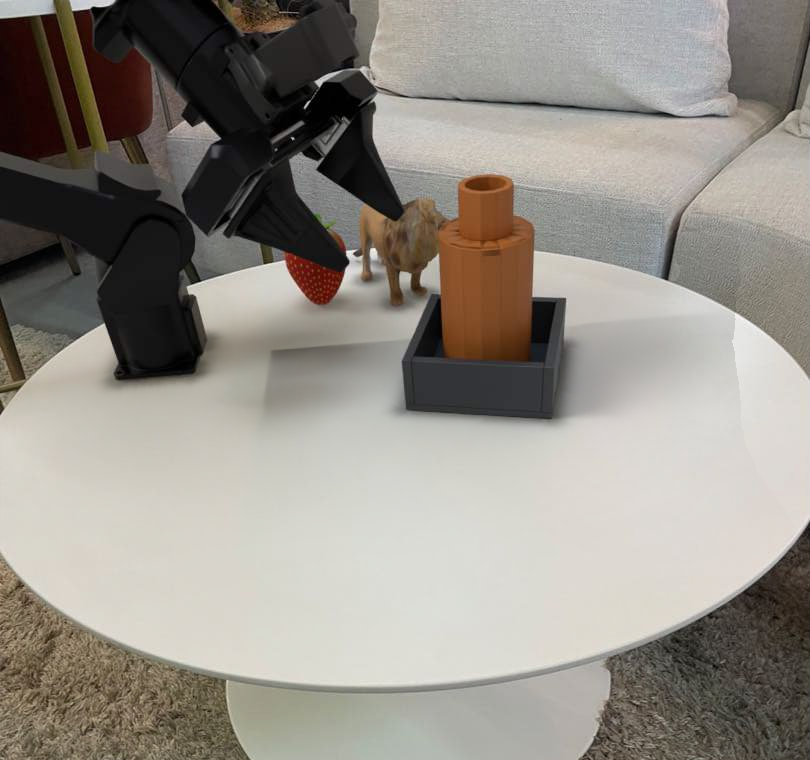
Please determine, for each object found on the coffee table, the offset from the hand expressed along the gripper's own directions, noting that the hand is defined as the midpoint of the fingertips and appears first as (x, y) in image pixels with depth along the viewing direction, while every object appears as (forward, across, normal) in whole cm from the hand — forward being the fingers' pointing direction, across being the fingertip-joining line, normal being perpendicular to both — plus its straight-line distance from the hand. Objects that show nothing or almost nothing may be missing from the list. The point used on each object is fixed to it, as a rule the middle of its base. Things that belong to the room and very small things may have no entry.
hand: (374, 241), depth 57 cm
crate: (+13, 0, +1) cm, 13 cm away
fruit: (0, +8, +14) cm, 16 cm away
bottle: (+12, 0, +1) cm, 12 cm away
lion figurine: (+4, +13, +10) cm, 17 cm away
